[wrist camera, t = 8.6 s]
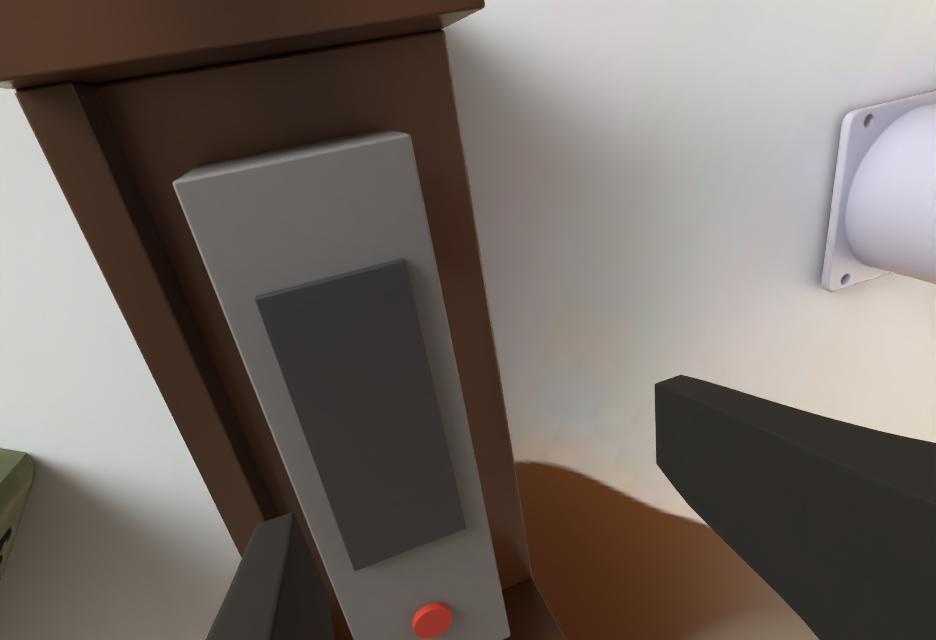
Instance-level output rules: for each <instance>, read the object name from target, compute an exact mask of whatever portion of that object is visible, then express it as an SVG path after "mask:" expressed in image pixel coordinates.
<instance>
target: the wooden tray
mask: <svg viewBox="0 0 936 640" xmlns="http://www.w3.org/2000/svg"><path fill="white" fill-rule="evenodd" d="M484 6H485V2H484V0H0V88H6V89H17V90H15V91H14V92H15V95H16V97H17V99H18V101H19V103H20V105H21V107H22V109H23V112H24V114H25V116H26V118H27V120H28V122H29V124H30V126H31V128H32V130H33V132H34V134H35V136H36V138H37V140H38V142H39V144H40V146H41V148H42V150H43V152H44V155H45V157H46V159H47V161H48V163H49V165H50V167H51V169H52V171H53V173H54V175H55V177H56V179H57V181H58V183H59V185H60V187H61V189H62V191H63V193H64V195H65V197H66V200H67V202H68V204H69V206H70V208H71V210H72V212H73V214H74V216H75V218H76V220H77V222H78V224H79V226H80V228H81V230H82V232H83V234H84V236H85V238H86V240H87V243H88V245H89V247H90V249H91V251H92V253H93V255H94V257H95V259H96V261H97V263H98V265H99V267H100V269H101V271H102V273H103V275H104V277H105V279H106V281H107V283H108V285H109V288H110V290H111V292H112V294H113V296H114V298H115V300H116V302H117V304H118V306H119V308H120V310H121V312H122V314H123V316H124V318H125V320H126V322H127V324H128V326H129V328H130V331H131V333H132V335H133V337H134V339H135V341H136V343H137V345H138V347H139V349H140V351H141V353H142V355H143V357H144V359H145V361H146V363H147V365H148V367H149V369H150V371H151V374H152V376H153V378H154V380H155V382H156V384H157V386H158V388H159V390H160V392H161V394H162V396H163V398H164V400H165V402H166V404H167V406H168V408H169V410H170V412H171V414H172V416H173V419H174V421H175V423H176V425H177V427H178V429H179V431H180V433H181V435H182V437H183V439H184V441H185V443H186V445H187V447H188V449H189V451H190V453H191V455H192V457H193V459H194V462H195V464H196V466H197V468H198V470H199V472H200V474H201V476H202V478H203V480H204V482H205V484H206V486H207V488H208V490H209V492H210V494H211V496H212V498H213V500H214V502H215V504H216V507H217V509H218V511H219V513H220V515H221V517H222V519H223V521H224V523H225V525H226V527H227V529H228V531H229V533H230V535H231V537H232V539H233V541H234V543H235V545H236V547H237V550H238V552H239V554H240V556H241V558H242V557H243V555H244V552H245V550H246V548H247V545H248V543H249V540H250V538H251V535H252V533H253V531H254V529H255V528H256V526H257V525H258V524H260V523H263V522H266V521H269V520H271V519H274V518H277V517H280V516H283V515H286V514H288V513H291V512H294V513H295V516H296V518H297V521H298V523H299V525H300V528H301V530H302V533H303V535H304V537H305V540H306V542H307V545H308V547H309V549H310V552H311V554H312V557H313V559H314V561H315V564H316V566H317V569H318V571H319V573H320V576H321V578H322V581H323V583H324V585H325V588H326V590H327V593H328V599H329V606H330V612H331V619H332V625H333V632H334V640H354V639H353V636H352V634H351V631H350V629H349V626H348V624H347V621H346V619H345V616H344V614H343V611H342V609H341V606H340V604H339V601H338V599H337V596H336V594H335V591H334V589H333V586H332V583H331V581H330V578H329V576H328V573H327V571H326V568H325V566H324V563H323V561H322V558H321V556H320V553H319V551H318V548H317V546H316V543H315V541H314V538H313V536H312V533H311V531H310V528H309V526H308V523H307V521H306V518H305V516H304V513H303V511H302V508H301V506H300V503H299V501H298V498H297V496H296V493H295V491H294V488H293V486H292V483H291V481H290V478H289V475H288V473H287V470H286V468H285V465H284V463H283V460H282V458H281V455H280V453H279V450H278V448H277V445H276V443H275V440H274V438H273V435H272V433H271V430H270V428H269V425H268V423H267V420H266V418H265V415H264V413H263V410H262V408H261V405H260V403H259V400H258V398H257V395H256V393H255V390H254V388H253V385H252V383H251V380H250V378H249V375H248V372H247V370H246V367H245V365H244V362H243V360H242V357H241V355H240V352H239V350H238V347H237V345H236V342H235V340H234V337H233V335H232V332H231V330H230V327H229V325H228V322H227V320H226V317H225V315H224V312H223V310H222V307H221V305H220V302H219V300H218V297H217V295H216V292H215V290H214V287H213V285H212V282H211V280H210V277H209V275H208V272H207V270H206V267H205V264H204V262H203V259H202V257H201V254H200V252H199V249H198V247H197V244H196V242H195V239H194V237H193V234H192V232H191V229H190V227H189V224H188V222H187V219H186V217H185V214H184V212H183V209H182V207H181V204H180V202H179V199H178V197H177V194H176V192H175V189H174V187H173V182H174V181H175V180H177V179H178V178H180V177H181V176H183V175H184V174H186V173H187V172H189V171H190V170H192V169H193V168H195V167H196V166H198V165H200V164H205V163H210V162H216V161H221V160H226V159H231V158H236V157H241V156H246V155H251V154H256V153H261V152H266V151H271V150H276V149H281V148H286V147H291V146H296V145H301V144H306V143H311V142H316V141H321V140H326V139H331V138H336V137H341V136H347V135H352V134H357V133H362V132H367V131H372V130H377V129H386V130H391V131H396V132H401V133H406V134H409V135H410V136H411V141H412V146H413V151H414V156H415V161H416V166H417V171H418V176H419V181H420V186H421V191H422V196H423V201H424V206H425V211H426V216H427V221H428V226H429V231H430V236H431V241H432V246H433V251H434V256H435V261H436V265H437V270H438V275H439V280H440V285H441V290H442V295H443V300H444V305H445V310H446V315H447V320H448V325H449V330H450V335H451V340H452V345H453V350H454V355H455V360H456V365H457V370H458V375H459V380H460V385H461V390H462V395H463V400H464V405H465V410H466V415H467V420H468V425H469V430H470V435H471V440H472V445H473V450H474V455H475V460H476V465H477V470H478V475H479V480H480V485H481V490H482V495H483V500H484V505H485V510H486V515H487V520H488V525H489V530H490V535H491V540H492V545H493V550H494V555H495V560H496V565H497V570H498V575H499V580H500V585H501V590H502V595H503V600H504V605H505V610H506V615H507V620H508V625H509V629H510V636H509V637H507V638H505V639H503V640H566V639H565V637H564V635H563V633H562V631H561V629H560V628H559V626H558V624H557V622H556V620H555V618H554V616H553V615H552V613H551V611H550V609H549V607H548V605H547V603H546V601H545V599H544V598H543V596H542V594H541V592H540V590H539V588H538V586H537V584H536V583H535V581H534V579H533V577H532V570H531V564H530V557H529V551H528V545H527V539H526V532H525V526H524V520H523V514H522V508H521V502H520V495H519V489H518V483H517V477H516V471H515V464H514V458H513V452H512V446H511V439H510V433H509V427H508V421H507V415H506V408H505V402H504V396H503V390H502V384H501V377H500V371H499V365H498V359H497V353H496V346H495V340H494V334H493V328H492V322H491V315H490V309H489V303H488V297H487V291H486V284H485V278H484V272H483V266H482V260H481V253H480V247H479V241H478V235H477V229H476V222H475V216H474V210H473V204H472V198H471V191H470V185H469V179H468V173H467V167H466V160H465V154H464V148H463V142H462V136H461V129H460V123H459V117H458V111H457V105H456V98H455V92H454V86H453V80H452V74H451V67H450V61H449V55H448V49H447V42H446V36H445V32H444V30H441V29H443V28H445V27H447V26H449V25H451V24H453V23H455V22H457V21H459V20H461V19H463V18H465V17H467V16H469V15H471V14H473V13H475V12H477V11H479V10H481V9H483V8H484Z"/></svg>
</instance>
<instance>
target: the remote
mask: <svg viewBox="0 0 936 640" xmlns="http://www.w3.org/2000/svg"><path fill="white" fill-rule="evenodd" d="M173 187H174V189H175V192H176V194H177V197H178V199H179V202H180V204H181V207H182V209H183V212H184V214H185V217H186V219H187V222H188V224H189V227H190V229H191V232H192V234H193V237H194V239H195V242H196V244H197V247H198V249H199V252H200V254H201V257H202V259H203V262H204V264H205V267H206V270H207V272H208V275H209V277H210V280H211V282H212V285H213V287H214V290H215V292H216V295H217V297H218V300H219V302H220V305H221V307H222V310H223V312H224V315H225V317H226V320H227V322H228V325H229V327H230V330H231V332H232V335H233V337H234V340H235V342H236V345H237V347H238V350H239V352H240V355H241V357H242V360H243V362H244V365H245V367H246V370H247V372H248V375H249V378H250V380H251V383H252V385H253V388H254V390H255V393H256V395H257V398H258V400H259V403H260V405H261V408H262V410H263V413H264V415H265V418H266V420H267V423H268V425H269V428H270V430H271V433H272V435H273V438H274V440H275V443H276V445H277V448H278V450H279V453H280V455H281V458H282V460H283V463H284V465H285V468H286V470H287V473H288V475H289V478H290V481H291V483H292V486H293V488H294V491H295V493H296V496H297V498H298V501H299V503H300V506H301V508H302V511H303V513H304V516H305V518H306V521H307V523H308V526H309V528H310V531H311V533H312V536H313V538H314V541H315V543H316V546H317V548H318V551H319V553H320V556H321V558H322V561H323V563H324V566H325V568H326V571H327V573H328V576H329V578H330V581H331V583H332V586H333V589H334V591H335V594H336V596H337V599H338V601H339V604H340V606H341V609H342V611H343V614H344V616H345V619H346V621H347V624H348V626H349V629H350V631H351V634H352V636H353V639H354V640H503V639H505V638H507V637H509V636H510V629H509V625H508V620H507V615H506V610H505V605H504V600H503V595H502V590H501V585H500V580H499V575H498V570H497V565H496V560H495V555H494V550H493V545H492V540H491V535H490V530H489V525H488V520H487V515H486V510H485V505H484V500H483V495H482V490H481V485H480V480H479V475H478V470H477V465H476V460H475V455H474V450H473V445H472V440H471V435H470V430H469V425H468V420H467V415H466V410H465V405H464V400H463V395H462V390H461V385H460V380H459V375H458V370H457V365H456V360H455V355H454V350H453V345H452V340H451V335H450V330H449V325H448V320H447V315H446V310H445V305H444V300H443V295H442V290H441V285H440V280H439V275H438V270H437V265H436V261H435V256H434V251H433V246H432V241H431V236H430V231H429V226H428V221H427V216H426V211H425V206H424V201H423V196H422V191H421V186H420V181H419V176H418V171H417V166H416V161H415V156H414V151H413V146H412V141H411V136H410V135H409V134H406V133H401V132H396V131H391V130H386V129H377V130H372V131H367V132H362V133H357V134H352V135H347V136H341V137H336V138H331V139H326V140H321V141H316V142H311V143H306V144H301V145H296V146H291V147H286V148H281V149H276V150H271V151H266V152H261V153H256V154H251V155H246V156H241V157H236V158H231V159H226V160H221V161H216V162H210V163H205V164H200V165H198V166H196V167H195V168H193V169H192V170H190V171H189V172H187V173H186V174H184V175H183V176H181V177H180V178H178V179H177V180H175V181H174V182H173Z"/></svg>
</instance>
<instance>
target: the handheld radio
mask: <svg viewBox="0 0 936 640" xmlns="http://www.w3.org/2000/svg"><path fill="white" fill-rule="evenodd" d="M33 475H34V468H33V464H32V462H31V460H30V459H29V457H28V455H27V454H26V453H24V452H18V451H12V450H6V449H0V579H1V576H2V573H3V570H4V567H5V564H6V561H7V557H8V554H9V551H10V548H11V545H12V542H13V539H14V536H15V533H16V529H17V526H18V523H19V520H20V517H21V514H22V511H23V508H24V504H25V501H26V498H27V495H28V492H29V489H30V486H31V483H32V480H33Z"/></svg>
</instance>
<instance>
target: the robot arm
mask: <svg viewBox="0 0 936 640" xmlns="http://www.w3.org/2000/svg"><path fill="white" fill-rule="evenodd" d="M891 272H893V273H897V274H900V275H904V276H908V277H912V278H915V279H919V280H923V281H926V282H930V283H934V284H936V91H932V92H928V93H923V94H919V95H915V96H911V97H907V98H903V99H898V100H894V101H890V102H886V103H882V104H877V105H873V106H869V107H865V108H861V109H857V110H853V111H851V112H849V113H848V114H847V115H846V116H845V118H844V120H843V122H842V126H841V134H840V142H839V149H838V157H837V165H836V173H835V180H834V188H833V196H832V203H831V211H830V219H829V227H828V234H827V242H826V250H825V257H824V265H823V273H822V281H821V285H822V288H823V289H825V290H827V291H830V292H834V291H837V290H840V289H843V288H846V287H849V286H852V285H855V284H858V283H861V282H864V281H867V280H870V279H873V278H876V277H879V276H882V275H885V274H888V273H891ZM655 421H656V464H657V465H658V466H659V468H660V469H661V470H662V472H663V473H664V474H665V476H666V477H667V478H668V479H669V481H670V482H671V483H672V485H673V486H674V487H675V489H676V490H677V491H678V492H679V494H680V495H681V496H682V497H683V498H684V500H685V501H686V502H687V503H688V505H689V506H690V507H691V508H692V509H693V510H694V511H695V512H696V513H697V514H698V515H699V516H700V517H701V518H702V519H703V520H704V521H705V522H706V523H707V524H708V525H709V526H710V527H711V528H712V529H713V530H714V531H715V532H716V533H717V534H718V535H719V536H720V537H721V538H722V539H723V540H724V541H725V542H726V543H727V544H728V545H729V546H730V547H731V548H732V549H733V550H734V551H735V552H736V553H737V554H738V555H739V556H740V557H741V558H742V559H743V560H744V561H745V562H746V563H747V564H748V565H749V566H750V567H751V568H753V569H754V571H755V572H756V573H758V575H759V576H761V577H762V578H763V579H764V580H765V581H766V582H767V583H768V584H769V585H770V586H771V587H772V588H773V589H774V590H775V591H776V592H777V593H778V594H779V595H780V596H781V597H782V598H783V599H784V600H785V601H786V603H787V604H788V605H789V606H790V607H791V608H792V609H793V610H794V611H795V612H796V613H797V614H798V615H799V616H800V617H801V618H802V620H803V621H804V622H805V623H806V624H807V625H808V627H809V628H810V629H811V630H812V631H813V632H814V633H815V635H816V636H817V637H818V638H819V639H820V640H936V443H933V442H928V441H923V440H918V439H913V438H908V437H903V436H899V435H894V434H890V433H886V432H881V431H877V430H873V429H869V428H865V427H862V426H858V425H854V424H850V423H846V422H842V421H838V420H834V419H831V418H827V417H824V416H820V415H816V414H813V413H809V412H806V411H803V410H799V409H796V408H792V407H789V406H786V405H782V404H779V403H776V402H772V401H769V400H766V399H763V398H759V397H756V396H753V395H750V394H746V393H743V392H740V391H737V390H733V389H730V388H727V387H723V386H720V385H717V384H713V383H710V382H707V381H703V380H699V379H696V378H692V377H688V376H683V375H679V376H676V377H673V378H670V379H667V380H665V381H662V382H659V383H656V384H655ZM205 640H334V632H333V625H332V619H331V612H330V606H329V599H328V593H327V590H326V588H325V585H324V583H323V581H322V578H321V576H320V573H319V571H318V569H317V566H316V564H315V561H314V559H313V557H312V554H311V552H310V549H309V547H308V545H307V542H306V540H305V537H304V535H303V533H302V530H301V528H300V525H299V523H298V521H297V518H296V516H295V513H294V512H291V513H288V514H286V515H283V516H280V517H277V518H274V519H271V520H269V521H266V522H263V523H260V524H258V525H257V526H256V528H255V529H254V531H253V533H252V535H251V538H250V540H249V543H248V545H247V548H246V550H245V552H244V555H243V557H242V560H241V562H240V564H239V567H238V569H237V571H236V574H235V576H234V578H233V581H232V583H231V585H230V587H229V590H228V592H227V594H226V597H225V599H224V601H223V603H222V605H221V608H220V610H219V612H218V614H217V616H216V618H215V620H214V622H213V625H212V627H211V629H210V631H209V633H208V635H207V637H206V639H205Z"/></svg>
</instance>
